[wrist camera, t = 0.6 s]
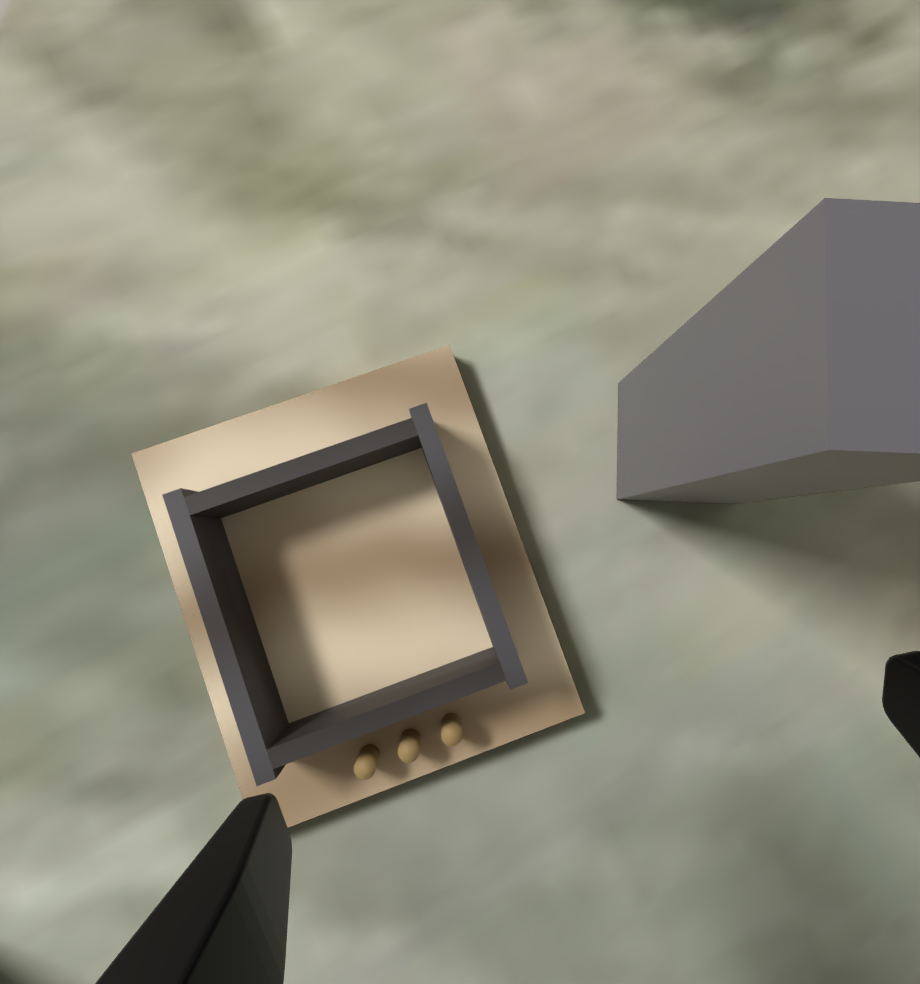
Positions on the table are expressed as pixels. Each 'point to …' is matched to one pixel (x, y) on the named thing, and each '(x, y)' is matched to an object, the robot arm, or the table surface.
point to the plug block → (788, 371)
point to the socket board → (356, 587)
